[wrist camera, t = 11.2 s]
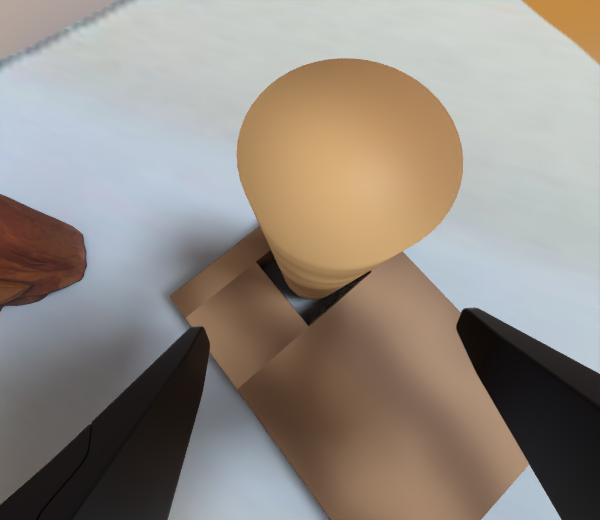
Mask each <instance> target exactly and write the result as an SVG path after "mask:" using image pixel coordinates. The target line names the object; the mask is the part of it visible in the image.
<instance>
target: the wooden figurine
mask: <svg viewBox="0 0 600 520" xmlns="http://www.w3.org/2000/svg"><path fill="white" fill-rule="evenodd" d="M86 266H87V265H86V250H85V247H84V243H83V235H82V234H81V233H80V232H79V231H78V230H77V229H75V228H74V227H73V226H71V225H69V224H67V223H64V222H62V221H60V220H58V219H56V218H53V217H51V216H48V215H46V214H44V213H41V212H39V211H37V210H34V209H32V208H30V207H28V206H26V205H24V204H21V203H19V202H17V201H15V200H13V199H11V198H8V197H6V196H4V195H1V194H0V310H1V308H2V307H3V306H6V305H10V306H17V305H24V304H29V303H33V302H37V301H39V300H41V299H43V298H44V297H46V295H47V293H49V292H52V291H55V290H58V289H61V288H64V287H67V286H69V285H71V284H72V283H75V282H77V281H80V280H81V279H82V277H83V275H84V271H85V268H86Z"/></svg>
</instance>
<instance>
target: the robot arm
mask: <svg viewBox="0 0 600 520" xmlns="http://www.w3.org/2000/svg"><path fill="white" fill-rule="evenodd" d="M456 330H457V333H458V335H459V337H460V339H461V341H462V344H463V346H464V348H465V350H466V352H467V354H468V357H469V359H470V361H471V363H472V365H473V367H474V369H475V371H476V373H477V375H478V377H479V379H480V381H481V382H482V384H483V386H484V387H485V389H486V391H487V393H488V394H489V396H490V398H491V399H492V401H493V403H494V405H495V406H496V408H497V410H498V411H499V413H500V415H501V417H502V418H503V420H504V422H505V423H506V425H507V427H508V429H509V430H510V432H511V434H512V435H513V437H514V439H515V441H516V442H517V444H518V446H519V447H520V449H521V451H522V453H523V454H524V456H525V458H526V459H527V461H528V463H529V465H530V466H531V468H532V470H533V471H534V473H535V475H536V476H537V478H538V480H539V482H540V483H541V485H542V487H543V488H544V490H545V492H546V494H547V495H548V497H549V499H550V500H551V502H552V504H553V506H554V507H555V509H556V511H557V512H558V514H559V516H560V518H561V519H562V520H600V374H599V373H597V372H595V371H593V370H592V369H590V368H588V367H586V366H584V365H582V364H580V363H579V362H577V361H575V360H573V359H571V358H569V357H567V356H566V355H564V354H562V353H560V352H558V351H556V350H554V349H553V348H551V347H549V346H547V345H545V344H543V343H541V342H540V341H538V340H536V339H534V338H532V337H530V336H528V335H527V334H525V333H523V332H521V331H519V330H517V329H516V328H514V327H512V326H510V325H508V324H506V323H504V322H503V321H501V320H499V319H497V318H495V317H493V316H491V315H490V314H488V313H486V312H484V311H482V310H480V309H478V308H465V309H463V310H462V312H461V314H460V317H459V319H458V322H457V324H456ZM209 351H210V341H209V339H208V336H207V333H206V330H205V328H204V327H203V326H196V327H191V328H189V329H188V330H187V331H186V332H185V333H184V334H183V335H182V336H181V337H180V338H179V339H178V340H177V341H176V342H175V343H174V344H173V345H171V346H170V347H169V348H168V349H167V350H166V351H165V352H164V353H163V354H162V355H161V356H160V357H159V358H158V359H157V360H156V361H155V362H154V363H153V364H152V365H151V366H150V367H149V368H148V369H147V370H145V371H144V372H143V373H142V374H141V375H140V376H139V377H138V378H137V379H136V380H135V381H134V382H133V383H132V384H131V385H130V386H129V387H128V388H127V389H126V390H125V391H124V392H123V393H122V394H121V395H119V396H118V397H117V398H116V399H115V400H114V401H113V402H112V403H111V404H110V405H109V406H108V407H107V408H106V409H105V410H104V411H103V412H102V413H101V414H100V415H99V416H98V417H97V418H96V419H95V420H93V422H92V425H91V424H90V425H88V426H87V427H86V428H85V429H84V430H83V431H82V432H81V433H80V434H79V435H78V436H77V437H76V438H75V439H74V440H72V441H71V442H70V443H69V444H68V445H67V446H66V447H65V448H64V449H63V450H62V451H61V452H60V453H59V454H57V455H56V456H55V457H54V458H53V459H52V460H51V461H50V462H49V463H48V464H47V465H45V466H44V467H43V468H42V469H41V470H40V471H39V472H37V473H36V474H35V475H34V476H33V477H32V478H31V479H30V480H28V481H27V482H26V483H25V484H24V485H23V486H22V487H20V488H19V489H18V490H17V491H16V492H15V493H13V494H12V495H11V496H10V497H9V498H8V499H7V500H5V501H4V502H3V503H2V504H1V505H0V520H168V516H169V512H170V509H171V505H172V501H173V498H174V494H175V491H176V487H177V483H178V480H179V476H180V473H181V469H182V465H183V462H184V458H185V455H186V451H187V447H188V444H189V440H190V436H191V433H192V429H193V426H194V422H195V418H196V415H197V411H198V408H199V404H200V400H201V396H202V392H203V387H204V381H205V375H206V369H207V363H208V357H209Z"/></svg>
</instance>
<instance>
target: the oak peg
mask: <svg viewBox="0 0 600 520" xmlns="http://www.w3.org/2000/svg"><path fill="white" fill-rule="evenodd" d="M237 166H238V172H239V176H240V181H241V183H242V186H243V189H244V191H245V194H246V196H247V198H248V201H249V203H250V205H251V207H252V209H253V211H254V214H255V216H256V218H257V220H258V222H259V225H260V227H261V229H262V231H263V233H264V235H265V238H266V240H267V242H268V244H269V246H270V249H271V251H272V253H273V255H274V257H275V259H276V262H277V264H278V266H279V268H280V270H281V273H282V275H283V277H284V279H285V281H286V283H287V285H288V287H289V288H290V289H291V290H292V291H293V292H294V293H295V294H297V295H298V296H300V297H302V298H305V299H311V300H315V299H321V298H324V297H327V296H328V295H330V294H332V293H333V292H335V291H337V290H338V289H340V288H342V287H343V286H345V285H347V284H348V283H350V282H352V281H354V280H355V279H357V278H359V277H360V276H362V275H364V274H365V273H367V272H369V271H370V270H372V269H374V268H375V267H377V266H379V265H380V264H382V263H384V262H385V261H387V260H389V259H390V258H392V257H394V256H395V255H397V254H399V253H400V252H402V251H404V250H405V249H407V248H409V247H410V246H412V245H414V244H415V243H417V242H419V241H420V240H421V239H423V238H424V237H425V236H427V235H428V234H429V233H431V232H432V231H433V230H434V229H435V228H436V227H437V226H438V225H439V224H440V223H441V222H442V220H443V219H444V217H445V216H446V215H447V213H448V212H449V211H450V209H451V207H452V205H453V203H454V201H455V199H456V197H457V194H458V191H459V188H460V185H461V179H462V173H463V154H462V146H461V142H460V139H459V135H458V132H457V130H456V127H455V125H454V123H453V120H452V119H451V117H450V115H449V114H448V112H447V110H446V109H445V107H444V106H443V105H442V104H441V102H440V101H439V100H438V99H437V98H436V97H435V96H434V95H433V94H432V93H431V92H430V91H429V90H428V89H427V88H426V87H425V86H423V85H422V84H421V83H420V82H418V81H417V80H415V79H414V78H412V77H410V76H409V75H407V74H405V73H403V72H401V71H399V70H397V69H395V68H392V67H389V66H387V65H384V64H381V63H377V62H372V61H368V60H360V59H329V60H323V61H318V62H314V63H311V64H307V65H304V66H301V67H299V68H297V69H295V70H292V71H290V72H288V73H287V74H285V75H283V76H282V77H280V78H278V79H277V80H276V81H275V82H273V83H272V84H271V85H269V86H268V87H267V88H266V89H265V90H264V91H263V92H262V93H261V94H260V95H259V97H258V98H257V99H256V100H255V102H254V103H253V104H252V106H251V108H250V109H249V111H248V113H247V115H246V116H245V119H244V121H243V124H242V126H241V129H240V134H239V138H238V145H237Z"/></svg>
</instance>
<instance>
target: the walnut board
mask: <svg viewBox="0 0 600 520" xmlns="http://www.w3.org/2000/svg"><path fill="white" fill-rule="evenodd" d="M274 258H275V257H274V255H273V253H272V251H271V249H270V246H269V244H268V242H267V240H266V238H265V235H264V233H263V231H262V229H261V227H258V228H257V229H256V230H254V231H253V232H252V233H251V234H249V235H248V236H247V237H245V238H244V239H243V240H242V241H240V242H239V243H238V244H236V245H235V246H234V247H233V248H231V249H230V250H229V251H227V252H226V253H225V254H223V255H222V256H221V257H220V258H218V259H217V260H216V261H214V262H213V263H212V264H211V265H209V266H208V267H207V268H205V269H204V270H203V271H202V272H200V273H199V274H198V275H196V276H195V277H194V278H193V279H191V280H190V281H189V282H187V283H186V284H185V285H183V286H182V287H181V288H180V289H178V290H177V291H176V292H174V293H173V294H172V295H171V296H170V298H171V299H172V300H173V302H174V303H175V304H176V306H177V307H178V309H179V310H180V311H181V313H182V314H183V316H184V317H185V318H186V320H187V321H188V322H189V324H190V325H191V327H196V326H203V327H204V328H205V330H206V333H207V336H208V339H209V341H210V351H209V352H210V353H211V354H212V356H213V357H214V358H215V360H216V361H217V363H218V364H219V365H220V367H221V368H222V370H223V371H224V372H225V374H226V375H227V376H228V378H229V379H230V381H231V382H232V383H233V385H234V386H235V388H236V389H237V390H238V392H239V393H240V394H241V396H242V397H243V399H244V400H245V401H246V403H247V404H248V406H249V407H250V408H251V410H252V411H253V412H254V414H255V415H256V417H257V418H258V419H259V421H260V422H261V424H262V425H263V426H264V428H265V429H266V430H267V432H268V433H269V435H270V436H271V437H272V439H273V440H274V442H275V443H276V444H277V446H278V447H279V448H280V450H281V451H282V453H283V454H284V455H285V457H286V458H287V460H288V461H289V462H290V464H291V465H292V466H293V468H294V469H295V471H296V472H297V473H298V475H299V476H300V478H301V479H302V480H303V482H304V483H305V484H306V486H307V487H308V489H309V490H310V491H311V493H312V494H313V496H314V497H315V498H316V500H317V501H318V502H319V504H320V505H321V507H322V508H323V509H324V511H325V512H326V514H327V515H328V516H329V518H330V519H331V520H481V519H482V518H483V517H484V516H485V514H486V513H487V512H488V511H489V510H490V509H491V508H492V506H493V505H494V504H495V503H496V502H497V501H498V499H499V498H500V497H501V496H502V495H503V494H504V493H505V491H506V490H507V489H508V488H509V487H510V486H511V485H512V483H513V482H514V481H515V480H516V479H517V478H518V477H519V475H520V474H521V473H522V472H523V471H524V470H525V469H526V467H527V466H528V465H529V463H528V461H527V459H526V458H525V456H524V454H523V453H522V451H521V449H520V447H519V446H518V444H517V442H516V441H515V439H514V437H513V435H512V434H511V432H510V430H509V429H508V427H507V425H506V423H505V422H504V420H503V418H502V417H501V415H500V413H499V411H498V410H497V408H496V406H495V405H494V403H493V401H492V399H491V398H490V396H489V394H488V393H487V391H486V389H485V387H484V386H483V384H482V382H481V381H480V379H479V377H478V375H477V373H476V371H475V369H474V367H473V365H472V363H471V361H470V359H469V357H468V354H467V352H466V350H465V348H464V346H463V344H462V341H461V339H460V337H459V335H458V333H457V330H456V324H457V322H458V319H459V317H460V314H461V312H460V311H459V310H458V309H457V308H456V307H455V306H454V305H453V304H452V303H451V302H450V301H449V300H448V299H447V298H446V297H445V296H444V295H443V294H442V292H441V291H440V290H439V289H438V288H437V287H436V286H435V285H434V284H433V283H432V282H431V281H430V280H429V279H428V278H427V277H426V276H425V275H424V274H423V273H422V271H421V270H420V269H419V268H418V267H417V266H416V265H415V264H414V263H413V262H412V261H411V260H410V259H409V258H408V257H407V256H406V255H405V254H404V253H403V252H400V253H399V254H397V255H395V256H394V257H392V258H390V259H389V260H387V261H385V262H384V263H382V264H380V265H379V266H377V267H375V268H374V269H372V270H370V271H369V272H367V273H365V274H364V275H362V276H361V277H362V278H361V279H360V280H359V281H357V282H356V283H355V284H354V285H353V286H352V287H351V288H349V289H348V290H347V291H346V292H345V293H344V294H342V295H341V296H340V297H339V298H338V299H337V300H336V301H334V302H333V303H332V304H331V305H330V306H329V307H328V308H326V309H325V310H324V311H323V312H322V313H321V314H320V315H318V316H317V317H316V318H315V319H314V320H313V321H311V322H310V323H309V324H308V325H307V323H306V322H305V321H304V320H303V318H302V317H301V316H300V315H299V314H298V312H297V311H296V310H295V309H294V307H293V306H292V305H291V304H290V303H289V301H288V300H287V299H286V298H285V296H284V295H283V294H282V293H281V292H280V290H279V289H278V288H277V287H276V285H275V284H274V283H273V282H272V281H271V279H270V278H269V277H268V276H267V274H266V273H265V272H264V271H263V270H262V268H263V267H264V266H266V265H267V264H268V263H269V262H271V261H272V260H273V259H274Z"/></svg>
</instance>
